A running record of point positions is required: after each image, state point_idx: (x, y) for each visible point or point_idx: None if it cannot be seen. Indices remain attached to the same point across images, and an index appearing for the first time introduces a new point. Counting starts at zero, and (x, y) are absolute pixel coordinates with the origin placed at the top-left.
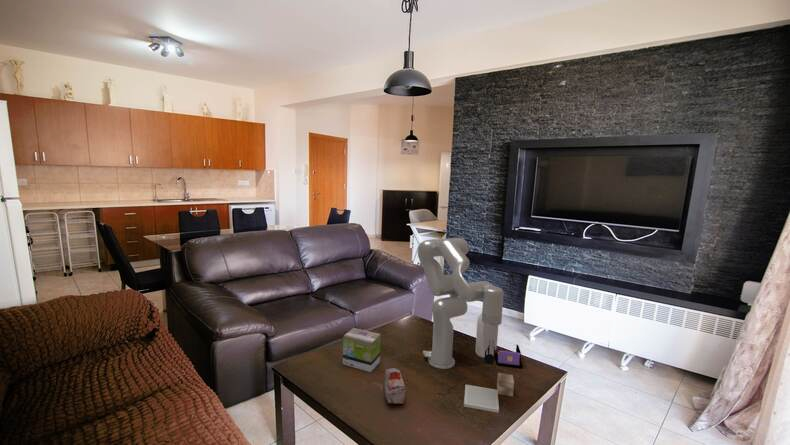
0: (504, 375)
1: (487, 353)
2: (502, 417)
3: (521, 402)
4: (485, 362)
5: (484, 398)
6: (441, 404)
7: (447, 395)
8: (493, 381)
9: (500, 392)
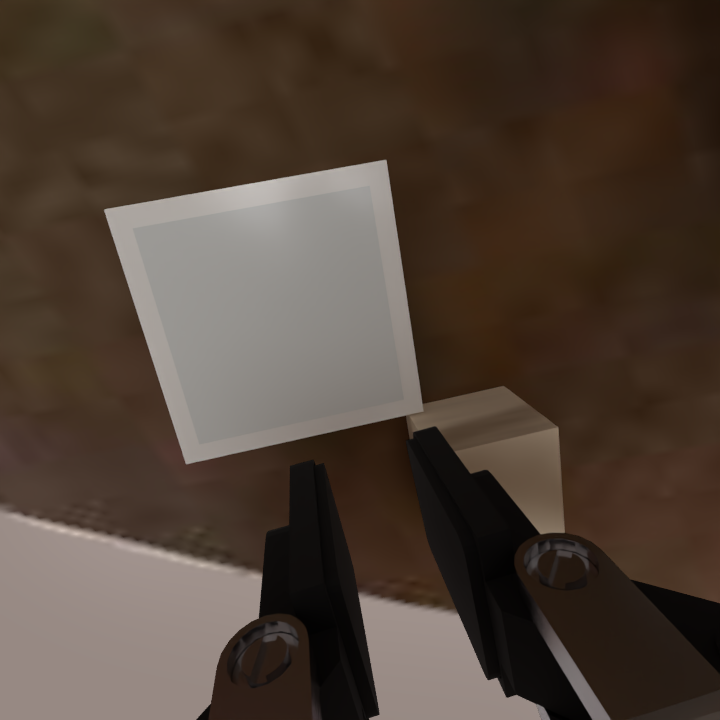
0: (532, 482)
1: (221, 707)
2: (156, 481)
3: (377, 549)
4: (291, 478)
5: (262, 349)
6: (16, 5)
7: (182, 30)
8: (546, 354)
9: (410, 430)
